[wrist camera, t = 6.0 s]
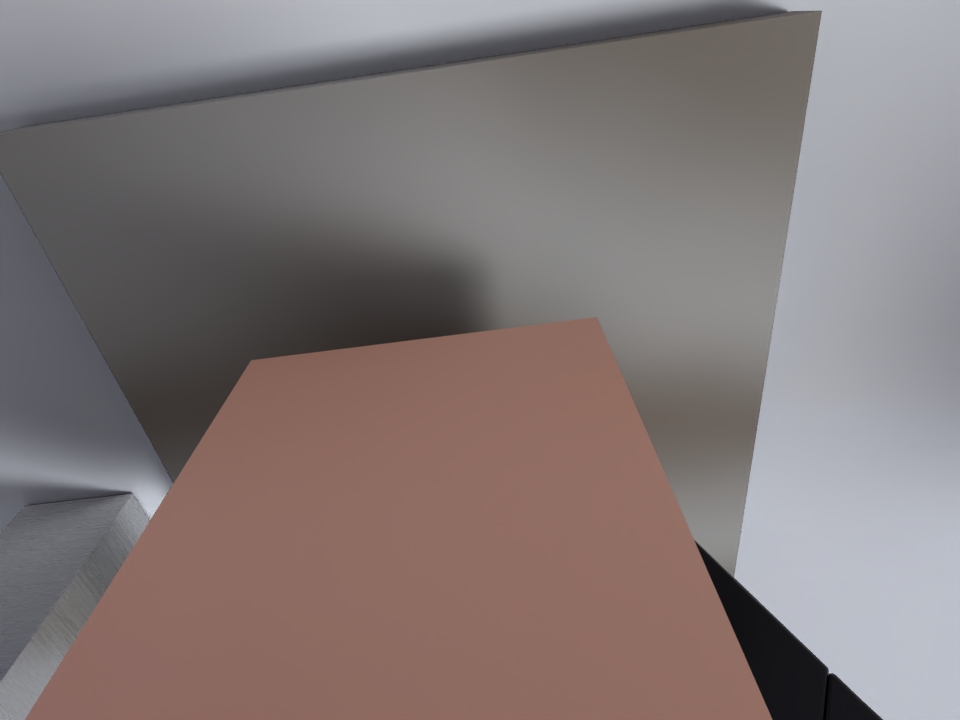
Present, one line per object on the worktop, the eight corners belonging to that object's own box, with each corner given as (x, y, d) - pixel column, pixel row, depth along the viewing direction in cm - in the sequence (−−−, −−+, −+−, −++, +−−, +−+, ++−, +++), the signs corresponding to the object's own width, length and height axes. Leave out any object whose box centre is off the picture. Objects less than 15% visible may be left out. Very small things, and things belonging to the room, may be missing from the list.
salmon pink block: (602, 555, 11) (748, 1129, 5) (339, 582, 11) (210, 1157, 6) (596, 316, 8) (877, 962, 3) (250, 360, 9) (-173, 1029, 3)
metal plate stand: (720, 556, 15) (869, 873, 9) (265, 603, 15) (154, 927, 10) (792, 11, 8) (1390, 2, 3) (18, 128, 9) (-663, 296, 4)
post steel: (178, 568, 14) (18, 874, 9) (80, 578, 14) (-132, 886, 9) (132, 493, 13) (-86, 804, 8) (24, 506, 13) (-259, 819, 8)
